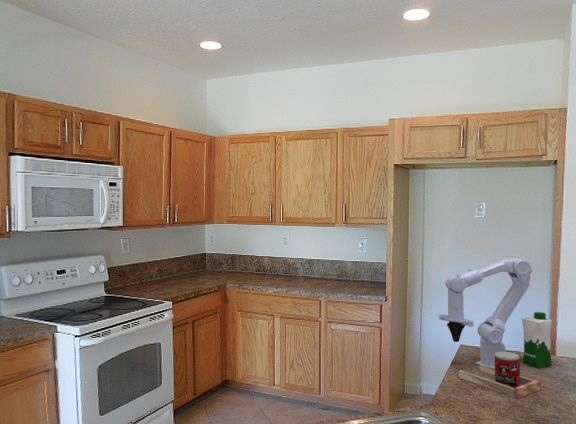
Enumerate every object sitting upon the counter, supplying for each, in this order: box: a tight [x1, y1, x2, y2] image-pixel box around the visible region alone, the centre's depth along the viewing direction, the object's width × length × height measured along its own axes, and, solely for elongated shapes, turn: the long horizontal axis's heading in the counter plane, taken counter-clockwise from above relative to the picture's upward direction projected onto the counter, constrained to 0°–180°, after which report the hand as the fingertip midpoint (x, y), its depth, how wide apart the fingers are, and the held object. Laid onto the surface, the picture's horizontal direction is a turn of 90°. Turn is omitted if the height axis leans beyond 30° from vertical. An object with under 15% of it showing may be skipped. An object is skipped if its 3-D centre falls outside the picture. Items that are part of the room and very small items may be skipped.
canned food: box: [494, 351, 521, 388], centre depth 157 cm, size 8×8×11 cm
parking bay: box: [458, 364, 542, 399], centre depth 160 cm, size 13×23×3 cm, turn 32°
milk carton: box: [521, 311, 553, 370], centre depth 178 cm, size 9×9×20 cm
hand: (456, 341), depth 179 cm, fingers closed
